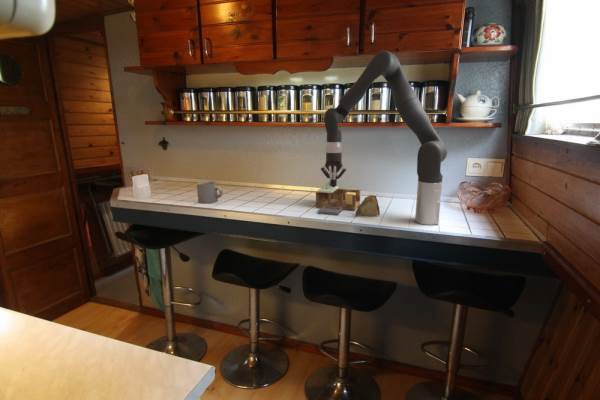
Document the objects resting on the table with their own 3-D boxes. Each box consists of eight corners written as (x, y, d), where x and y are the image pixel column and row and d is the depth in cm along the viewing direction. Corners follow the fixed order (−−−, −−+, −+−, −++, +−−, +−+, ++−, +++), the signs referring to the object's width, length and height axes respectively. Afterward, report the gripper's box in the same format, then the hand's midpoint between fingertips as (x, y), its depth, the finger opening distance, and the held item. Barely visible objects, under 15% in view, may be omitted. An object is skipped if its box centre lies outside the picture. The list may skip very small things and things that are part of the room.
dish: (342, 210, 162) (342, 207, 161) (337, 215, 153) (337, 212, 153) (324, 208, 165) (324, 205, 165) (318, 213, 157) (318, 210, 156)
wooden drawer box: (360, 204, 171) (360, 190, 170) (354, 211, 160) (355, 195, 158) (323, 201, 178) (323, 187, 177) (315, 207, 167) (315, 192, 165)
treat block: (355, 202, 168) (355, 192, 167) (353, 204, 164) (353, 194, 163) (347, 201, 169) (347, 192, 168) (345, 203, 166) (345, 193, 164)
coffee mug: (194, 202, 179) (192, 183, 177) (207, 198, 188) (205, 180, 185) (214, 205, 173) (212, 185, 171) (226, 200, 182) (225, 182, 180)
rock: (351, 212, 150) (373, 212, 145) (353, 195, 153) (375, 194, 148) (359, 221, 158) (380, 221, 153) (361, 204, 161) (382, 204, 156)
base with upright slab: (142, 194, 199) (139, 173, 197) (154, 195, 196) (152, 174, 193) (130, 197, 191) (127, 176, 188) (142, 198, 188) (140, 177, 185)
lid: (338, 187, 174) (338, 180, 173) (331, 193, 162) (331, 185, 162) (325, 187, 176) (325, 179, 175) (317, 192, 165) (317, 184, 164)
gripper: (349, 151, 165) (348, 186, 169) (323, 150, 170) (322, 184, 174) (345, 152, 158) (344, 189, 162) (318, 151, 163) (318, 187, 167)
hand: (333, 186), depth 168 cm, fingers closed
